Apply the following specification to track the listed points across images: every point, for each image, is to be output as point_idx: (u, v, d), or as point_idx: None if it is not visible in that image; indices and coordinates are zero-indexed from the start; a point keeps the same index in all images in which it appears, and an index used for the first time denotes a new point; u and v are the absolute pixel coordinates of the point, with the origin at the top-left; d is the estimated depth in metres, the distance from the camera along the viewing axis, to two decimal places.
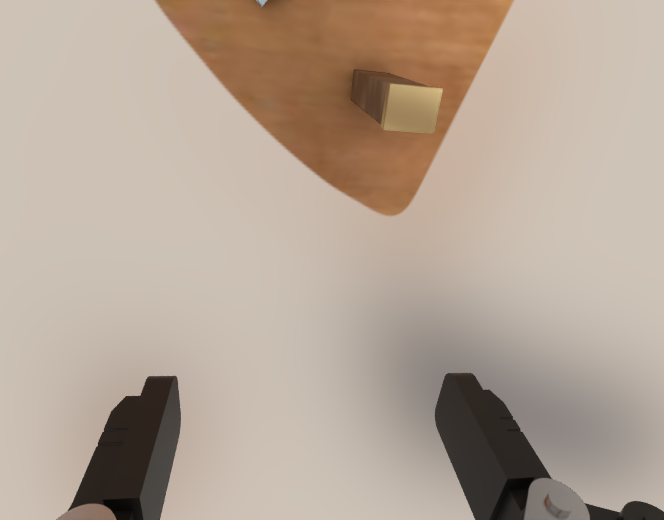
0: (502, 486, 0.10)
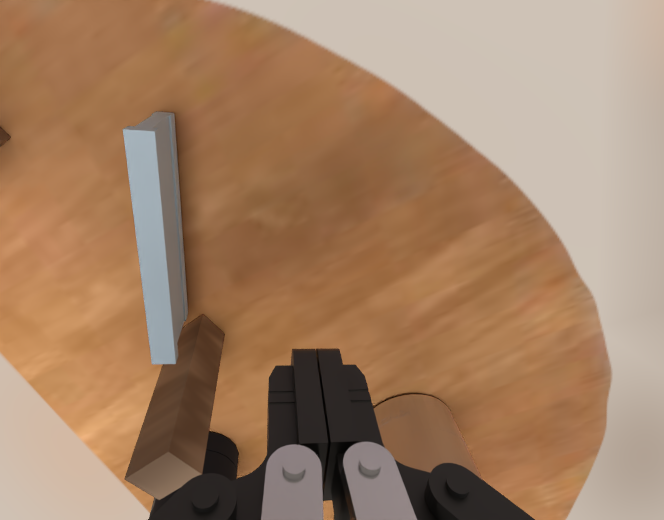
0: (329, 450, 0.10)
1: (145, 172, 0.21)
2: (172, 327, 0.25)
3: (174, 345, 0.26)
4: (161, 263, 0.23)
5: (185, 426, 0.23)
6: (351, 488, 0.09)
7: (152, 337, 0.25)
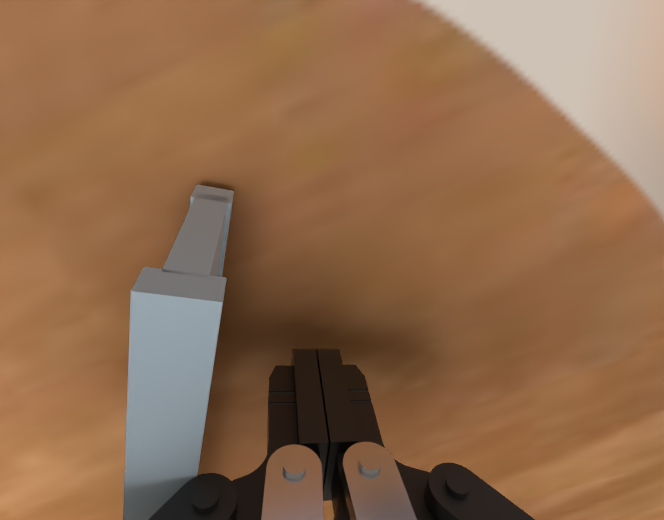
0: (329, 450, 0.10)
1: (174, 389, 0.08)
2: None
3: None
4: None
5: None
6: (351, 488, 0.09)
7: None
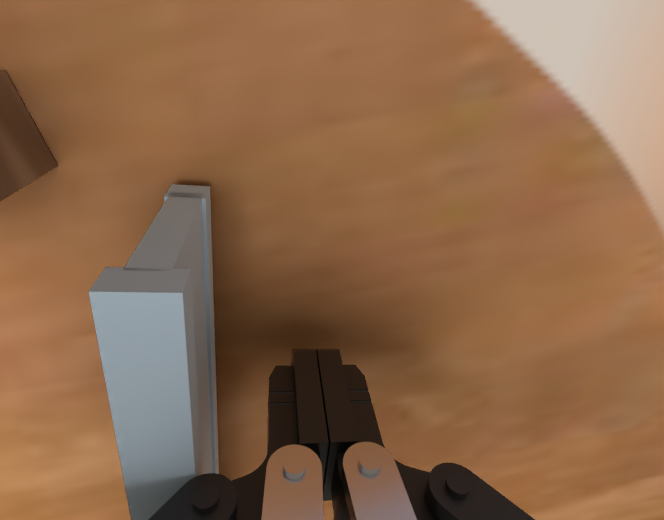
0: (328, 450, 0.10)
1: (153, 386, 0.08)
2: None
3: None
4: None
5: None
6: (351, 488, 0.09)
7: None
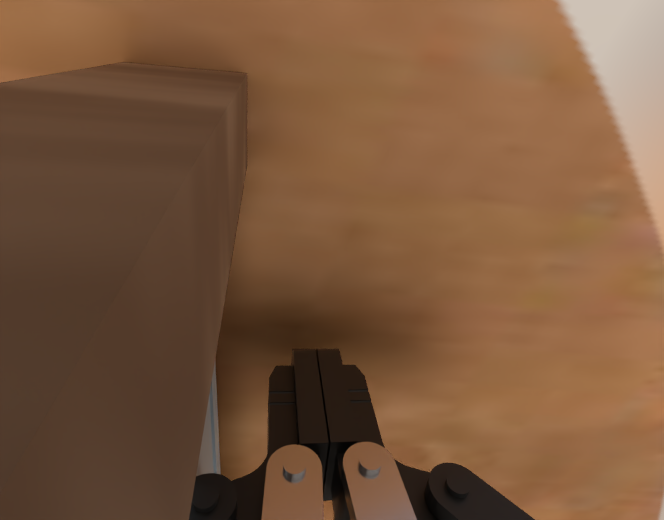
0: (328, 450, 0.10)
1: None
2: None
3: None
4: None
5: None
6: (350, 488, 0.09)
7: None
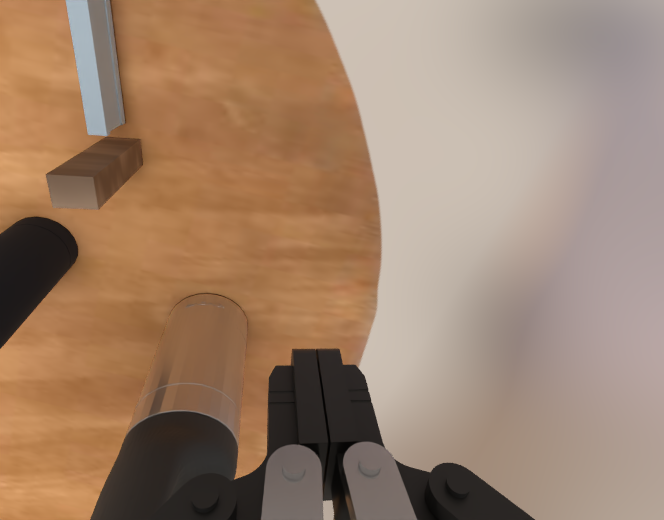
0: (329, 450, 0.10)
1: None
2: (101, 99, 0.33)
3: (104, 118, 0.33)
4: (88, 36, 0.30)
5: (104, 178, 0.31)
6: (351, 488, 0.09)
7: (86, 108, 0.33)
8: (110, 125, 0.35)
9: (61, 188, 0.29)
